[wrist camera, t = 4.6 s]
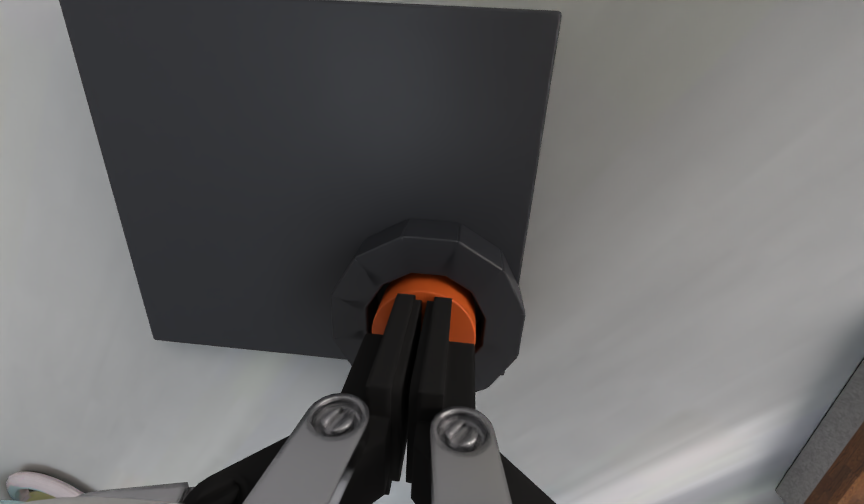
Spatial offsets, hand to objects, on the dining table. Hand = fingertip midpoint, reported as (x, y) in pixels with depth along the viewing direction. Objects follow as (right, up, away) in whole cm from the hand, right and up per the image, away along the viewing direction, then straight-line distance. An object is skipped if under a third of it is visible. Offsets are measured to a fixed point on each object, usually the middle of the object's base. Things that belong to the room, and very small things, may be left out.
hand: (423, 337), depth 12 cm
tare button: (0, +1, +1) cm, 2 cm away
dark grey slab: (-3, +5, +2) cm, 6 cm away
